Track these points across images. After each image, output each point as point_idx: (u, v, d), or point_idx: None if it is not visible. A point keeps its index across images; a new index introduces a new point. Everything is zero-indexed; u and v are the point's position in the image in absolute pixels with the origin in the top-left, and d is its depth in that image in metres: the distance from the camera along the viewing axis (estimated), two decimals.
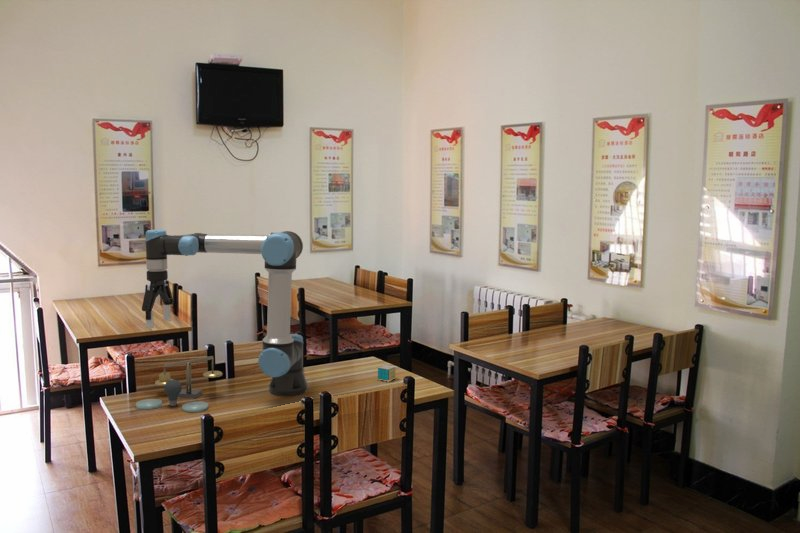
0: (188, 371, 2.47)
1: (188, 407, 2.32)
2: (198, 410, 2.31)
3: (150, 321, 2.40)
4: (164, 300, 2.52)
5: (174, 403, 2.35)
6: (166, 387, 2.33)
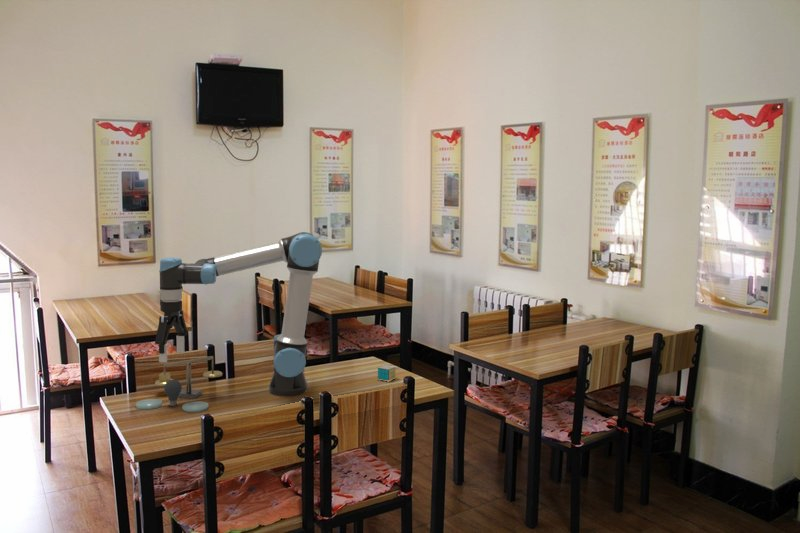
0: (188, 371, 2.47)
1: (188, 407, 2.32)
2: (198, 410, 2.31)
3: (163, 355, 2.27)
4: (178, 331, 2.39)
5: (174, 403, 2.35)
6: (166, 387, 2.33)
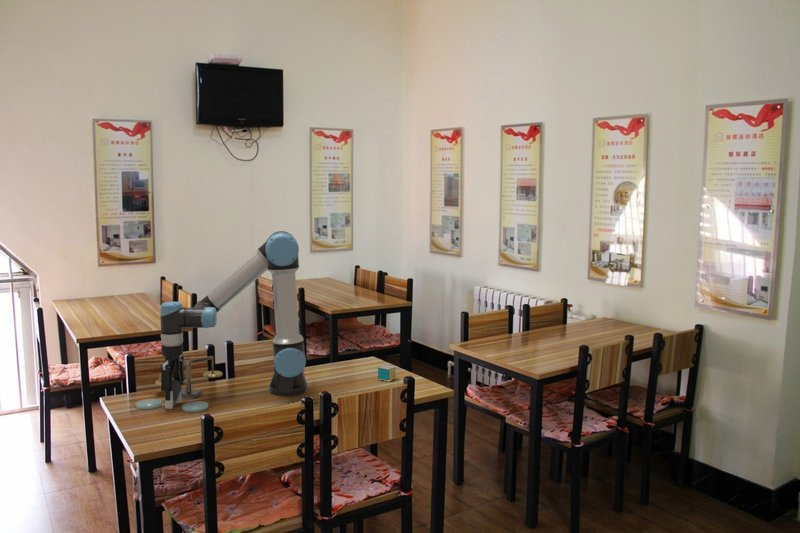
0: (188, 371, 2.47)
1: (188, 407, 2.32)
2: (198, 410, 2.31)
3: (169, 401, 2.32)
4: (175, 379, 2.38)
5: (174, 403, 2.35)
6: None
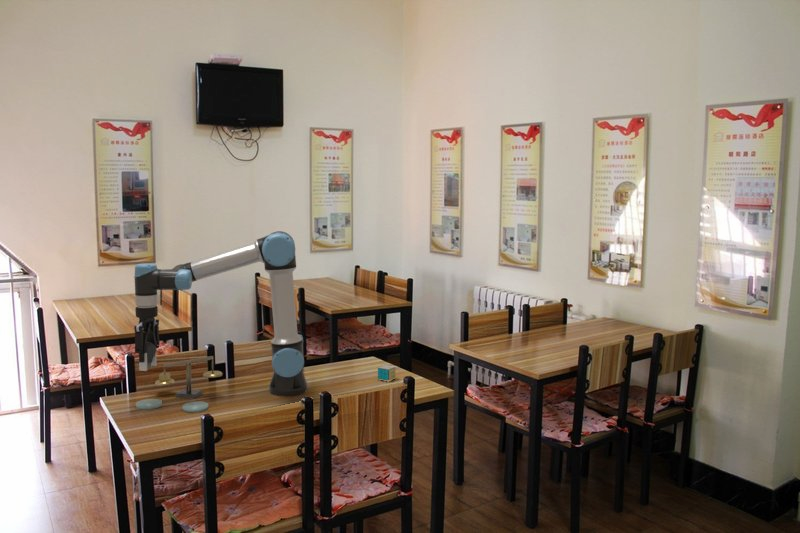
0: (188, 371, 2.47)
1: (188, 407, 2.32)
2: (198, 410, 2.31)
3: (143, 363, 2.31)
4: (150, 342, 2.37)
5: (148, 366, 2.34)
6: None
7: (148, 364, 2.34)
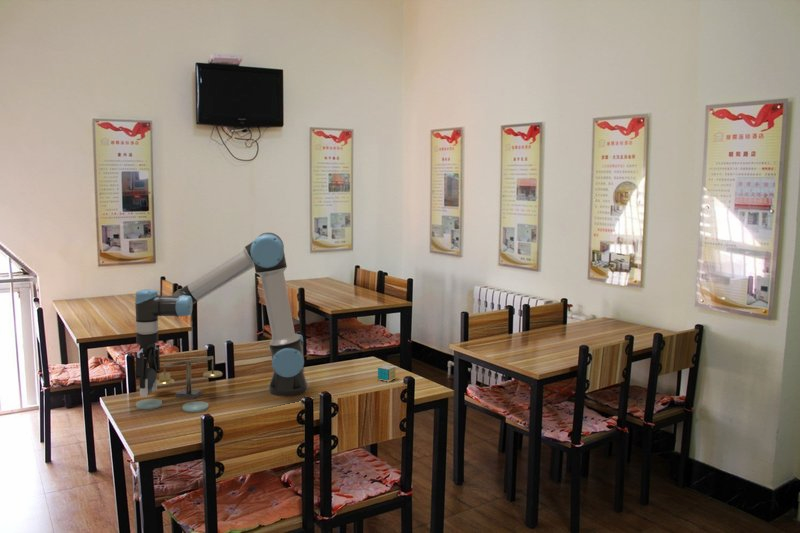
0: (188, 371, 2.47)
1: (188, 407, 2.32)
2: (198, 410, 2.31)
3: (144, 389, 2.32)
4: (151, 367, 2.38)
5: (149, 391, 2.35)
6: None
7: (149, 390, 2.35)
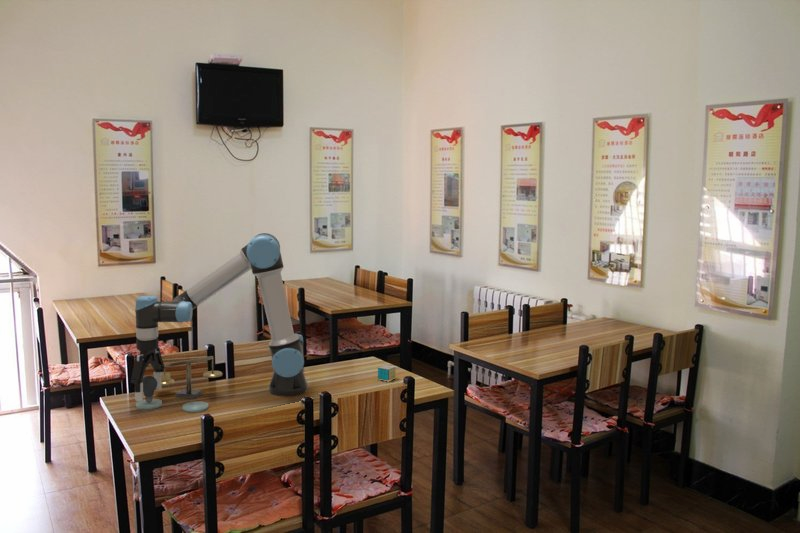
0: (188, 371, 2.47)
1: (188, 407, 2.32)
2: (198, 410, 2.31)
3: (139, 393, 2.29)
4: (155, 367, 2.41)
5: (150, 399, 2.35)
6: None
7: (149, 398, 2.35)
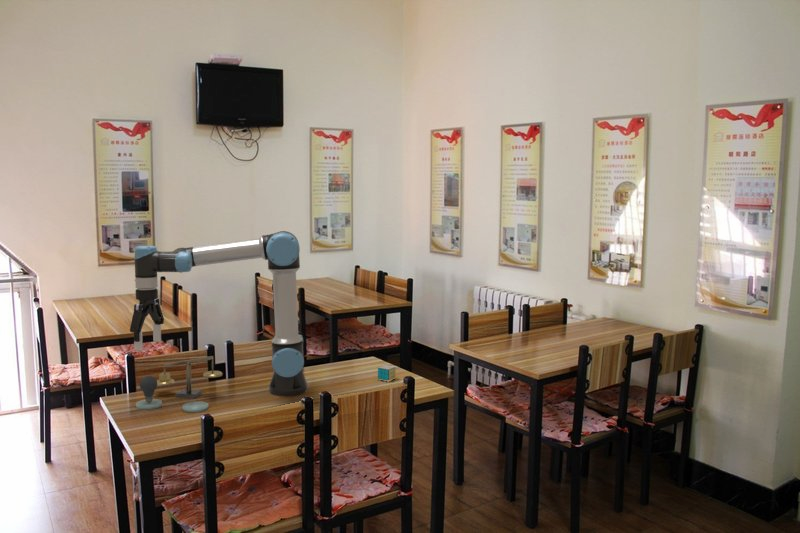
0: (188, 371, 2.47)
1: (188, 407, 2.32)
2: (198, 410, 2.31)
3: (139, 343, 2.27)
4: (154, 319, 2.39)
5: (150, 399, 2.35)
6: (141, 383, 2.33)
7: (149, 398, 2.35)
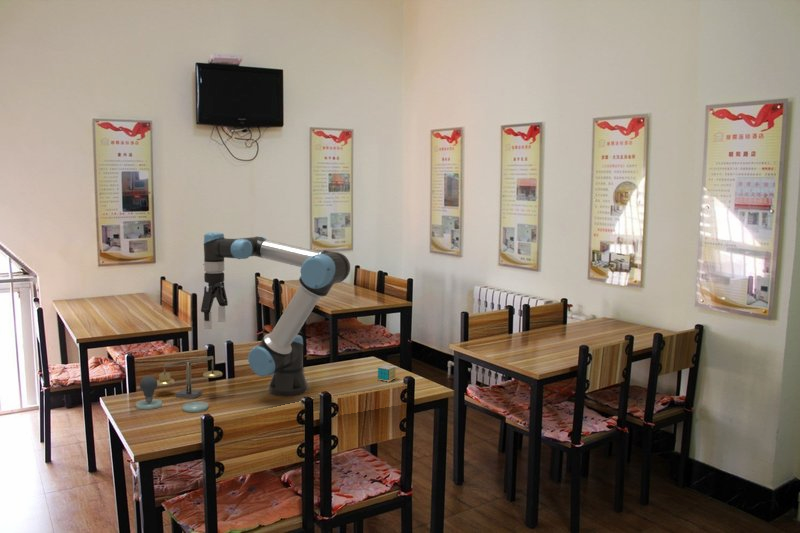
0: (188, 371, 2.47)
1: (188, 407, 2.32)
2: (198, 410, 2.31)
3: (208, 322, 2.45)
4: (219, 301, 2.57)
5: (150, 399, 2.35)
6: (141, 383, 2.33)
7: (149, 398, 2.35)
